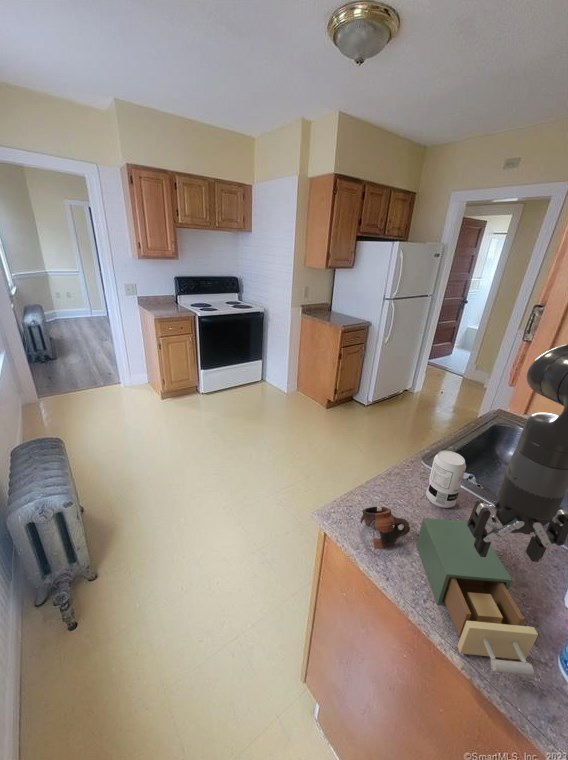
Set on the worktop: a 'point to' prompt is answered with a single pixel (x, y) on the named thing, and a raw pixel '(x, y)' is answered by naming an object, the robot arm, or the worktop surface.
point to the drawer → (491, 626)
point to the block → (483, 608)
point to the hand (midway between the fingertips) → (505, 555)
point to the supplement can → (445, 478)
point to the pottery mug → (385, 526)
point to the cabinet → (455, 556)
